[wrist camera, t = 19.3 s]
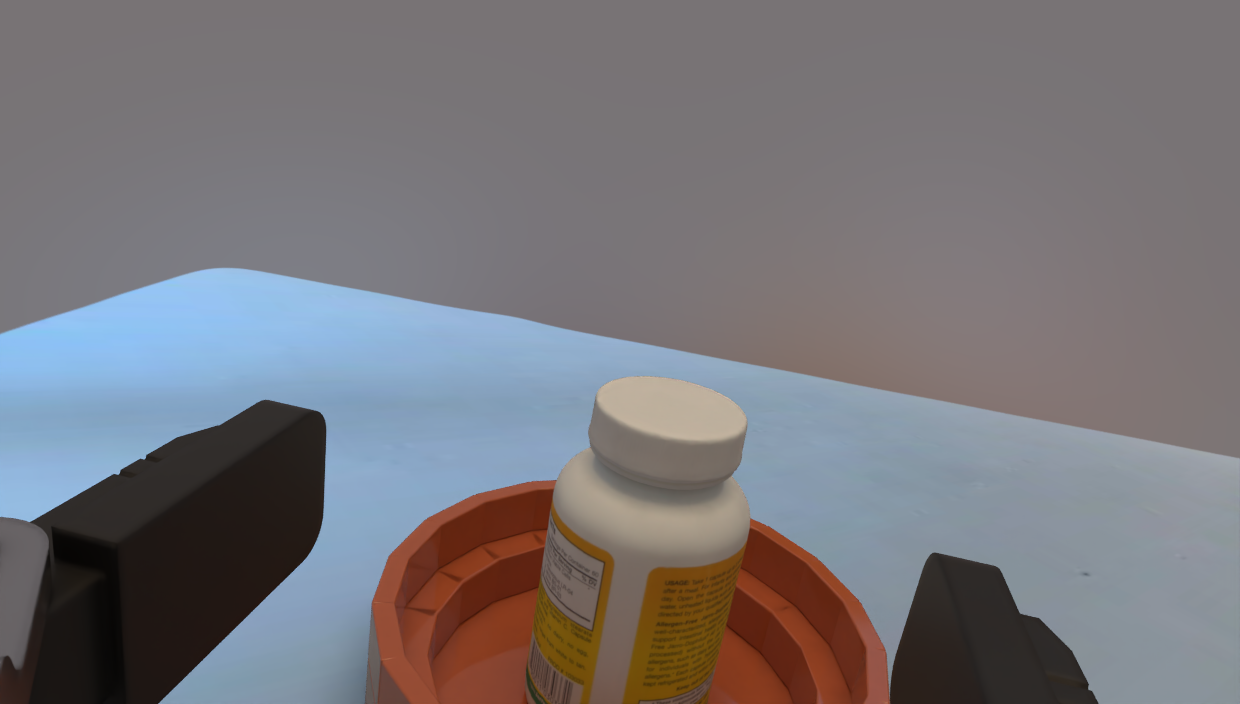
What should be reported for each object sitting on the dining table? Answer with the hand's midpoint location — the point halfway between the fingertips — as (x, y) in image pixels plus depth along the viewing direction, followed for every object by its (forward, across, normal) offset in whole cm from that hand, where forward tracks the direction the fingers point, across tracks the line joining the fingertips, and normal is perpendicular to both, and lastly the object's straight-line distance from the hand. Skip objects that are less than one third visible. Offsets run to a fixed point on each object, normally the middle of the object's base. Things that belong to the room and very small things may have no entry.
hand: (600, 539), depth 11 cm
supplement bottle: (+10, 0, +12) cm, 16 cm away
